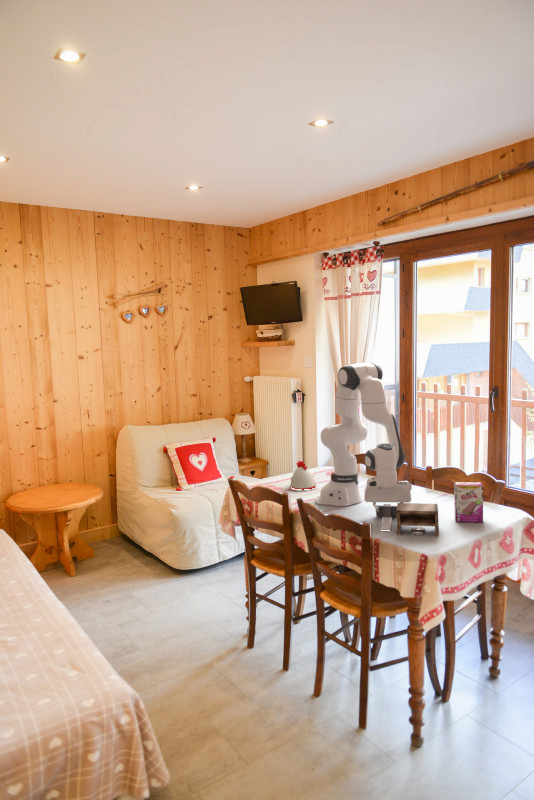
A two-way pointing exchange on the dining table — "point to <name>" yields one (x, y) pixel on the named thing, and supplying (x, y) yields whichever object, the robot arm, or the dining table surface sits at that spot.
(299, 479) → the kitchen timer
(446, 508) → the dining table surface
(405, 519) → the walnut cabinet
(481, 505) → the candy bar box
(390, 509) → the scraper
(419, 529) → the steel puck
